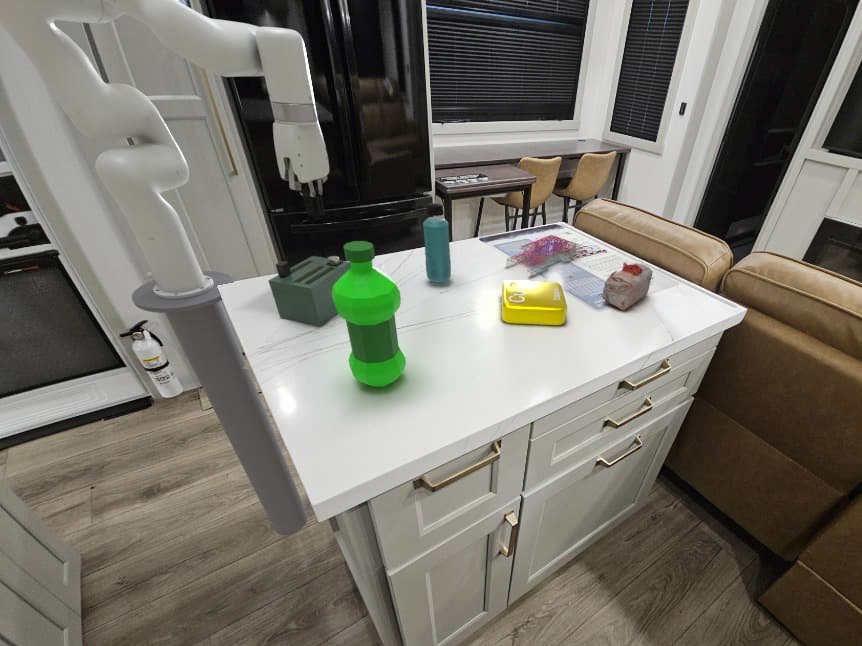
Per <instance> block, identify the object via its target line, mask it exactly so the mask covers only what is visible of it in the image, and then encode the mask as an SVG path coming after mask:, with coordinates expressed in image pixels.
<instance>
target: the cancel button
mask: <svg viewBox="0 0 862 646" xmlns="http://www.w3.org/2000/svg"><path fill="white" fill-rule="evenodd" d="M327 258H328V262H329V266H335V267H337V266H339V265H340V257H339V256H337V255H331V256H328V257H327Z"/></svg>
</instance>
